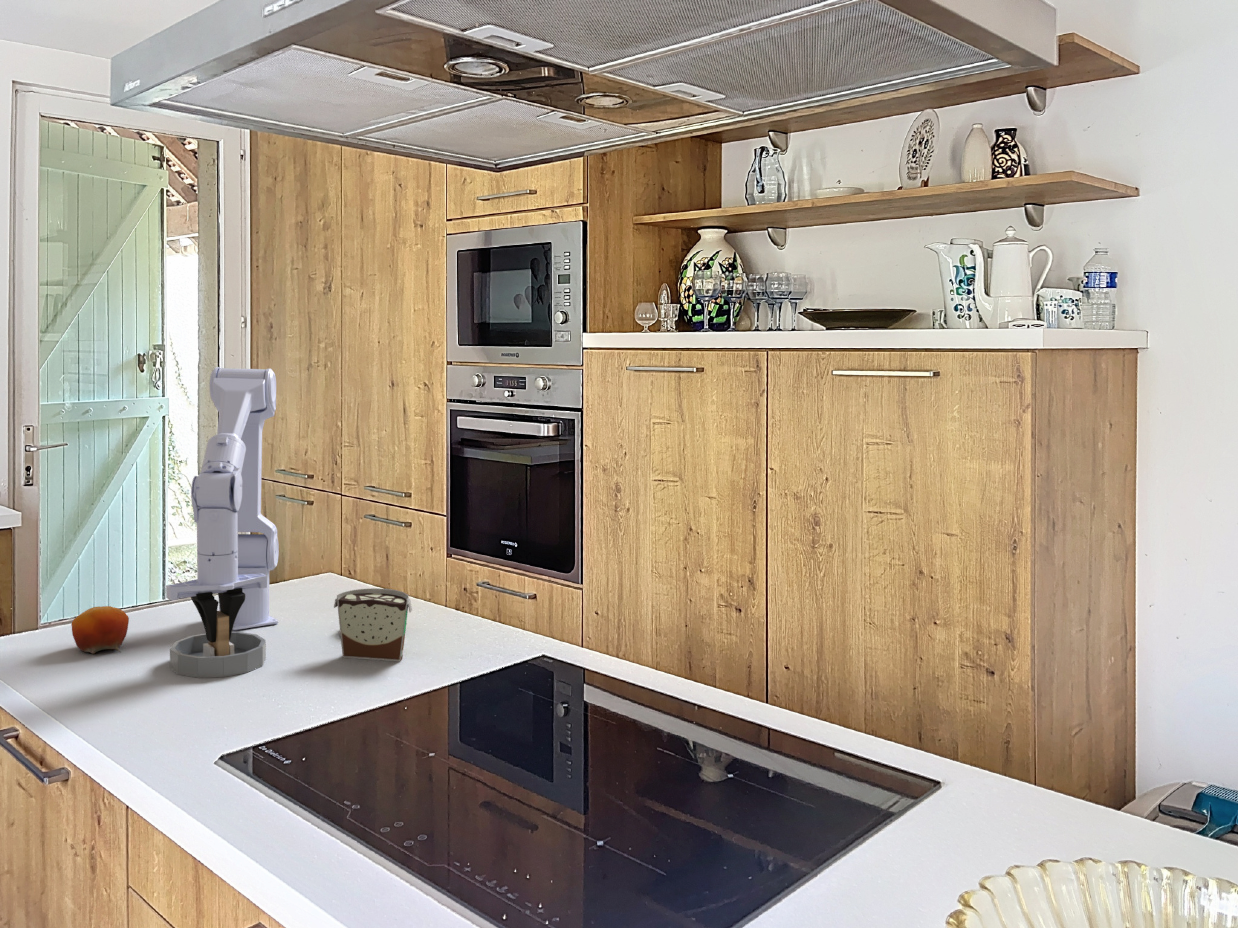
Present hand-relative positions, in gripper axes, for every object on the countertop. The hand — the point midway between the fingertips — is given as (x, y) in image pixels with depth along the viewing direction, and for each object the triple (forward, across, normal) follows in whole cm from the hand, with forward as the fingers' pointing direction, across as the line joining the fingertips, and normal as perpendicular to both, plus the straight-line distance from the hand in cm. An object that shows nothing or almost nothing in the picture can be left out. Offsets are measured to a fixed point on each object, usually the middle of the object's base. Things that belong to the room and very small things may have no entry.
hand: (218, 639), depth 160 cm
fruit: (+4, -12, +17) cm, 21 cm away
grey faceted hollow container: (+4, 0, 0) cm, 4 cm away
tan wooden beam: (+3, 0, 0) cm, 3 cm away
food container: (+4, +22, -9) cm, 24 cm away
